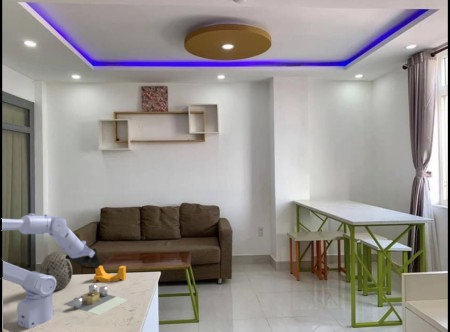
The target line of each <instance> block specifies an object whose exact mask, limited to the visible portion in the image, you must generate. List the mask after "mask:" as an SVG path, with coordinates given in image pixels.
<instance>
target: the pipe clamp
mask: <svg viewBox="0 0 450 332" xmlns="http://www.w3.org/2000/svg"><path fill="white" fill-rule="evenodd" d="M126 267H127V266H126V265H121V266H119V267H118V271H117V273H116V274H108V273H107V272H106V271H105V269H104V267H103V265H100V266H99V267H98V269H96V268H95V275H94V276H93V282H94V283H95V282H97V281H98V282H99V283H110V282H111V281H118V282H119V281H120V280H121V281H122V282H123V281H125V280H126V279H127V268H126Z"/></svg>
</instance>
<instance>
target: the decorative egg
mask: <svg viewBox="0 0 450 332" xmlns="http://www.w3.org/2000/svg"><path fill="white" fill-rule="evenodd" d="M66 256H67V255H66V254H65V253H62V252H58V251H55V252H51V253H50V254H48V255H47V256H45V257H44V259H43V260H42V263H41V265H40V266H39V271H38V272H39V273H42V274H45V275H50V276H53V277H54V278H55V279H56V288H55V290H54V291H60V290H62V289H64V288H66V287H67V286H68V285H69V284H70V282H71V281H72V278H73V266H72V263H71V260H69V259H66V258H65V257H66ZM54 291H53V292H54Z"/></svg>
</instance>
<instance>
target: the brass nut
mask: <svg viewBox="0 0 450 332" xmlns="http://www.w3.org/2000/svg"><path fill="white" fill-rule="evenodd" d="M98 292H99V291H97V292H89V291H88V292H86V293H84V294H82V296H83V302H84V305H86V304H95V303H97V302H99V293H98Z"/></svg>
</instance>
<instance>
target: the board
mask: <svg viewBox="0 0 450 332" xmlns="http://www.w3.org/2000/svg"><path fill="white" fill-rule="evenodd" d="M97 292H98V293H99V291H97ZM80 297H82V306H83V307H82V308H81V309H80V310H81V311H84V312H88V313H91V314H94V315H97V316H101V315H103V314H105V313H106V312H109V311H110V310H112V309H114V308H115V307H118V306H119V305H122V304H123V303H125V302H127V301H128V299H127V298H122V297H119V296H115V295H111V294H109V293H107V296H106V297H100V296H99V302H97V303H95V304H86V305H84V302H83V295H81V296H80ZM64 305H65V306H68V307H72V308H74V303H73V299H72V300H69V301H67V302H64Z"/></svg>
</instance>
